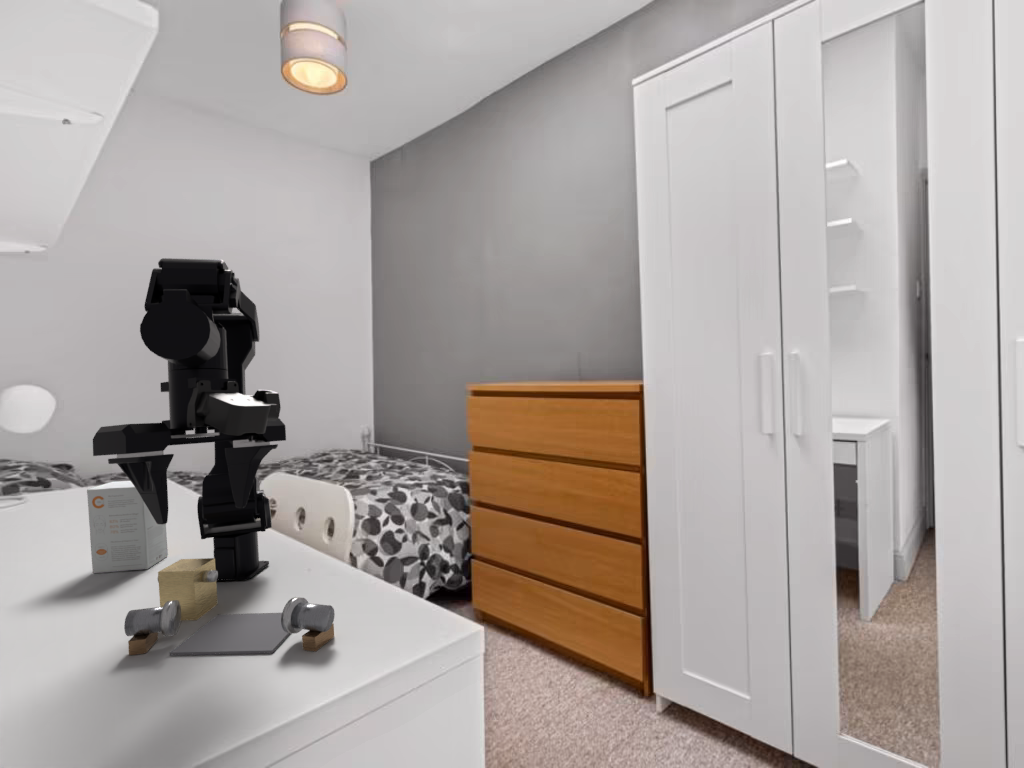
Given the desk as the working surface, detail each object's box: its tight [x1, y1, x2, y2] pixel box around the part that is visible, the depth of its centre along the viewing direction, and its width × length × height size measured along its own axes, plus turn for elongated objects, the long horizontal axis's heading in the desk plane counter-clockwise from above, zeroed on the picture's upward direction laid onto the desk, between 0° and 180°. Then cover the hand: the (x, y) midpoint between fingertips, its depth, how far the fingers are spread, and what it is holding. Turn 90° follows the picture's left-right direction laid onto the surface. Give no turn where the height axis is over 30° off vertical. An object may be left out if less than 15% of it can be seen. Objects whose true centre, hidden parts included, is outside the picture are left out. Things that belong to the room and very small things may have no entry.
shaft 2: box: [281, 596, 335, 652], centre depth 59 cm, size 4×4×5 cm
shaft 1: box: [124, 600, 182, 656], centre depth 60 cm, size 4×4×5 cm
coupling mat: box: [169, 612, 291, 656], centre depth 62 cm, size 9×11×1 cm
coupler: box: [157, 557, 218, 621], centre depth 68 cm, size 4×7×6 cm, turn 88°
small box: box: [86, 480, 169, 574], centre depth 87 cm, size 8×6×13 cm
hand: (204, 515), depth 60 cm, fingers open, 9 cm apart
